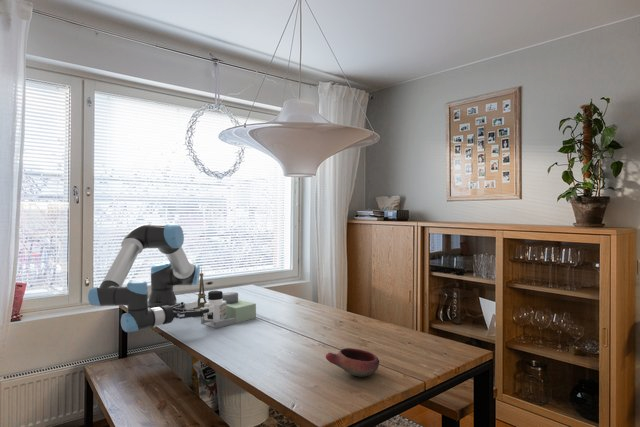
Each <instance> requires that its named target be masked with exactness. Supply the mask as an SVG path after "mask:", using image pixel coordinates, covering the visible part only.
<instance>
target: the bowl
mask: <svg viewBox="0 0 640 427" xmlns="http://www.w3.org/2000/svg"><path fill="white" fill-rule="evenodd" d="M325 358H326V360H327V361H328V362H329V363H331V364H333V365H334V366H337V367H338V368H340V369H342V370H344V371H345V372H346V373H347V374H349V375H352V376H355V377H358V378H359V377H361V378H362V377H367V376H370V375H372V374H375V373H376V371H377V370H378V369H379V367H380V360H379V358H378V356H377V355H376V354H374V353H373V352H371V351H369V350H368V351H367V350H364V349H358V348H354V347H353V348H350V347H348V348H347V347H345V348H341V349H340V350H338V352H337V353H333V352H328V353H326V354H325Z"/></svg>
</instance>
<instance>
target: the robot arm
mask: <svg viewBox="0 0 640 427" xmlns="http://www.w3.org/2000/svg"><path fill="white" fill-rule="evenodd" d="M184 240H185V236H184V231H183V228H182V227H181V225H179V224H177V223H172V222H171V223H144V224H141V225H138V226H137V227H135V228H133V229H131V230H130V231H129V232H128V233H127V234H126V235H125V237H124V238H123V240H122V241H121V244H120V246H121V248H120V250H119V251H118V253H117V255H116V257H115V258H114V260H113V262H112V264H111V265H110V268H109V269H108V271H107V273H106V275H105V276H104V279H103V280H102V282H101V284H100V285H99V286H94V287H91V288H90V290H88V294H87V300H88V302H89V305H91V306H93V307H104V306H105V307H111V306H112V307H114V306H115V307H116V306H117V307H118V306H119V307H121V306H124V307H126V306H127V311H126V312H125V313H122V315H121V318H120V325H121V329H122V330H123V331H124V332H125V333H131V332H138V331H141V330H145V329H149V328H154V329H156V327H157V326H162V325H166V324H167V325H168V324H171V323H172V322H174V321H173V320H174V319H179V320H181V319H187V318H189V319H190V318H198V317H199V318H200V317H201V318H203V317H204V314H207V313H212V312H214V306H209V307H204V308H200V309H193V308H196V307H198V300H195V301H191V302H185V303H184V301H182V302H181V301H180V303H178V302H177V297H176V294H175V291H174V287H176V286H177V287H178V286H183V287H184V286H187V287H188V286H190V287H191V286H192V287H193V286H196V285H198V284H199V282H200V276H199V274H200V273H201V272H200V271H201V267H200V265H199V264H194V263H193V262H192V260H189V258H188V257H187V254H186V253H185V251H184V248H183V247H182V246H183V245H184ZM145 249H158V251H159V252H160V253H162V254H164V255H165V257H167V259H168V261H167V262H161V263H158V264H157V263H156V264H153V265H152V266H151V267H150V295H149V290H148V282H147V281H145V280H131V281H129V282H127V285H126V286H123V285H124V282H125V280H126V279H127V277H128V274H129V273H130V271H131V269H132V266H133V264H134V263H135V261H136V259H137V257H138V255H140V254H141V253H143V250H145ZM149 307H151V308H149Z"/></svg>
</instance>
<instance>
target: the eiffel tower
mask: <svg viewBox="0 0 640 427" xmlns="http://www.w3.org/2000/svg"><path fill="white" fill-rule="evenodd" d="M202 267H203V266H202V265H201V267H200V271H201V272H200V274H199V291H198V292H199V293H198V294H197V301H198V307H196V308H192V309H201V308H204V304H205V303H207V302H208V300H207V299H206V293H205V286H204V273H203V271H202V269H203V268H202ZM202 299H203V301H201V300H202Z"/></svg>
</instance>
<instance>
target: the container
mask: <svg viewBox="0 0 640 427" xmlns="http://www.w3.org/2000/svg"><path fill="white" fill-rule="evenodd" d="M207 298H208V299H207V303H205V304H204V307H209V306H214V312H212V313H207V314H203V317H204V319H205V320H208V321H220V320H222V319H224V318H225V317H226V316H227V308H226V301H222V300H223V291H222V290H220V289H219V290H218V289H214V290H210V291H208V293H207Z"/></svg>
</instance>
